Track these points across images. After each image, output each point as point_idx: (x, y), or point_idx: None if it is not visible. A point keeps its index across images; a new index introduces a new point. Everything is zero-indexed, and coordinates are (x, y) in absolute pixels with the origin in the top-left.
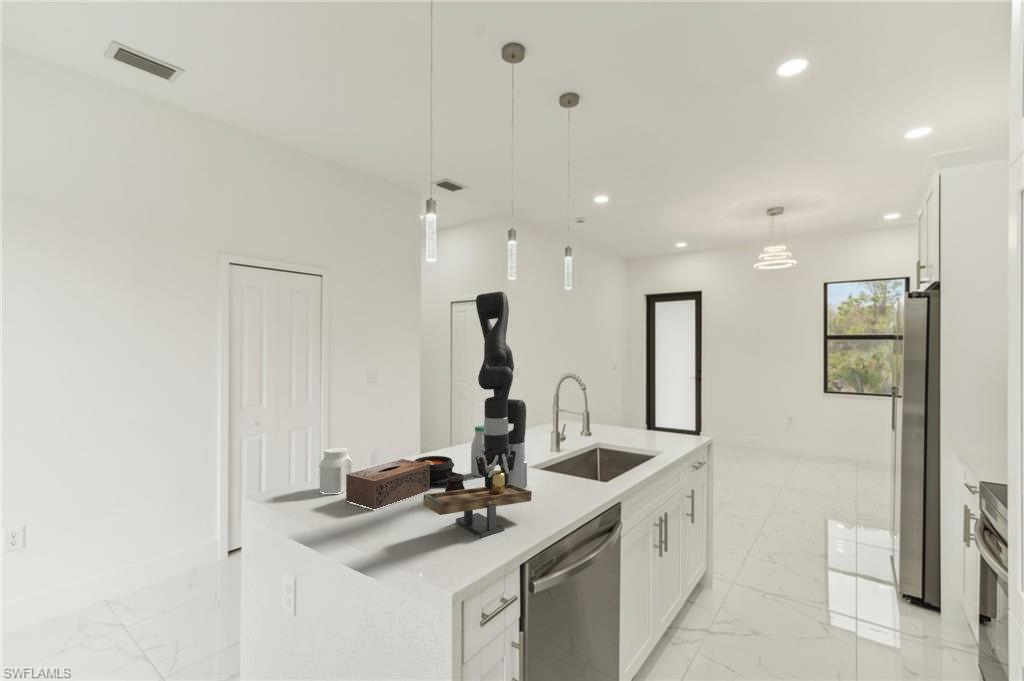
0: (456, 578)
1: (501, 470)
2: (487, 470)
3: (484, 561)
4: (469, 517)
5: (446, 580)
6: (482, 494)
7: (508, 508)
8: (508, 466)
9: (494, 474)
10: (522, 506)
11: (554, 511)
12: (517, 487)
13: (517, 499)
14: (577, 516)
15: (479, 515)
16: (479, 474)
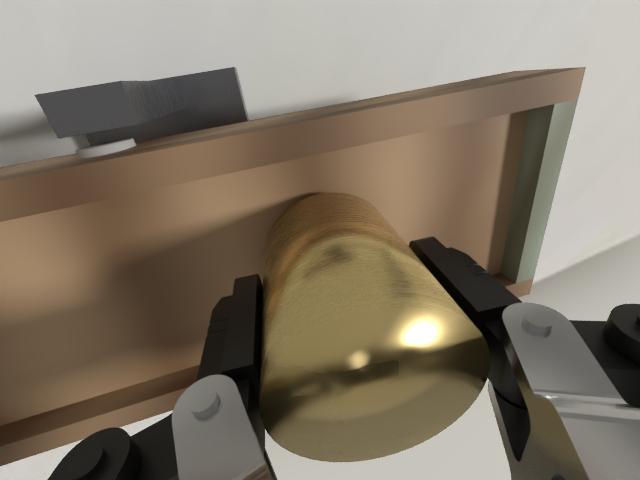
0: (55, 468)
1: (505, 331)
2: (233, 471)
3: (149, 423)
4: (161, 121)
5: (25, 472)
6: (203, 252)
7: (450, 35)
8: (629, 398)
9: (317, 441)
10: (525, 50)
11: (563, 191)
12: (533, 187)
13: None
14: (570, 265)
15: (229, 118)
16: (79, 451)
